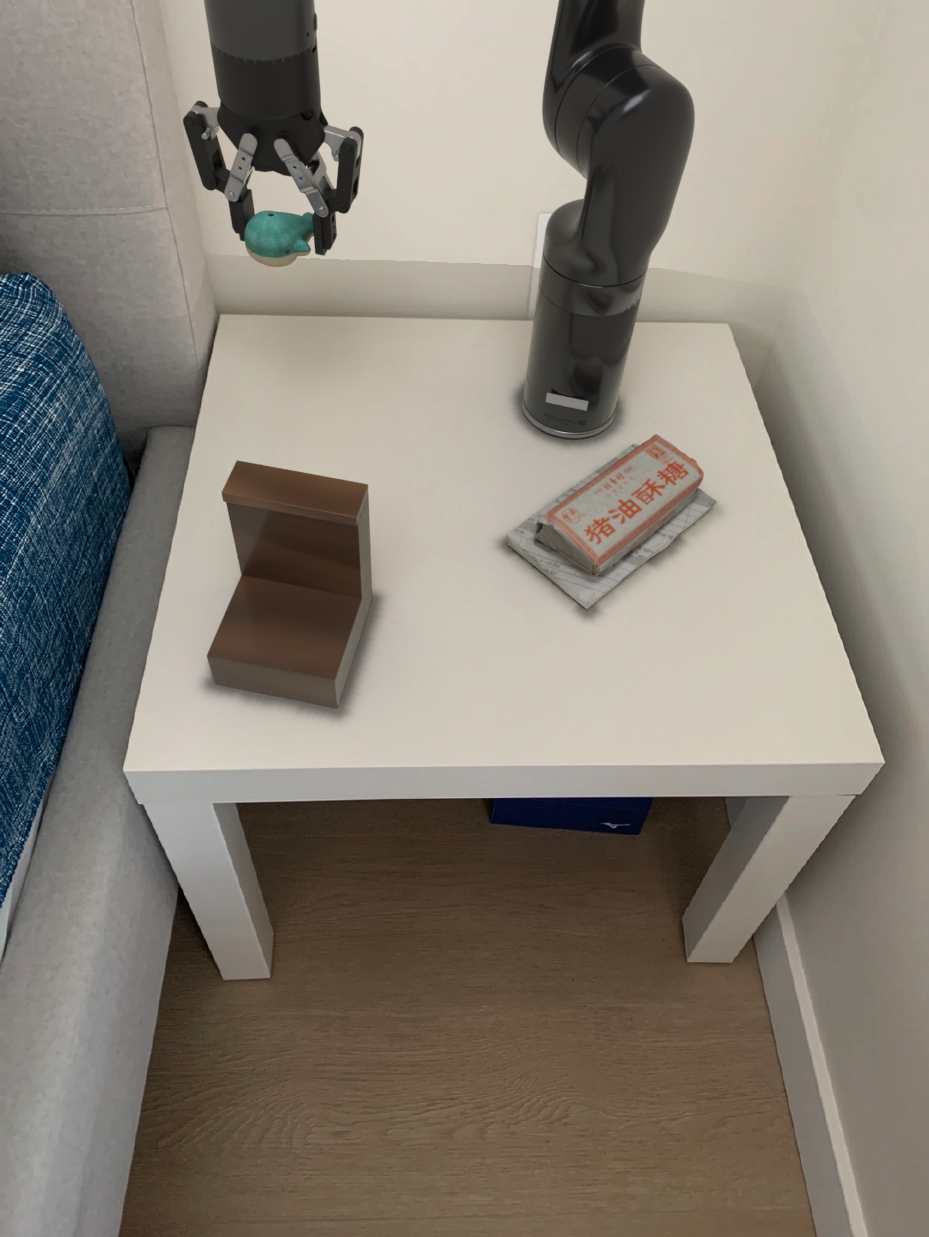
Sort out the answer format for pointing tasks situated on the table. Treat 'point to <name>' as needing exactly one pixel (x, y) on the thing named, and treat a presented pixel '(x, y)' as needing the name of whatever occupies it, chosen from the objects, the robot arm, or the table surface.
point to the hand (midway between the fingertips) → (286, 242)
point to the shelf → (294, 583)
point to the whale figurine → (278, 237)
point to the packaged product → (614, 519)
